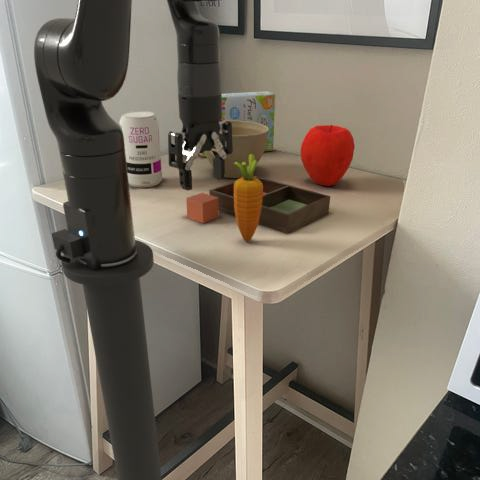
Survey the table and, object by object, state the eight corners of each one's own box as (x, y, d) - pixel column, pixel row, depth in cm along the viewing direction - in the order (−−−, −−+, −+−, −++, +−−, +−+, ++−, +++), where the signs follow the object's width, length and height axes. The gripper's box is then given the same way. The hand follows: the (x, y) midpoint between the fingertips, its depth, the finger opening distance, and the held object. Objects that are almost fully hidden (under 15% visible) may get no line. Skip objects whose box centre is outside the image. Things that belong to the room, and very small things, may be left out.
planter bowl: (245, 187, 113) (246, 138, 107) (188, 175, 120) (186, 128, 114) (278, 170, 125) (280, 125, 119) (224, 160, 132) (224, 117, 126)
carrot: (245, 250, 85) (247, 162, 77) (227, 241, 88) (227, 155, 80) (266, 243, 88) (270, 157, 80) (248, 234, 91) (250, 150, 83)
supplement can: (150, 175, 120) (144, 109, 112) (169, 183, 115) (164, 115, 107) (120, 181, 116) (111, 113, 107) (138, 190, 110) (131, 119, 102)
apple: (293, 189, 113) (298, 127, 105) (303, 174, 122) (308, 117, 115) (345, 195, 110) (354, 132, 103) (351, 179, 119) (360, 121, 112)
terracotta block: (203, 223, 95) (202, 203, 93) (187, 217, 98) (186, 197, 95) (218, 217, 98) (218, 197, 96) (202, 211, 100) (202, 192, 98)
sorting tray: (287, 233, 92) (288, 215, 90) (209, 207, 103) (209, 190, 101) (328, 213, 101) (330, 196, 99) (253, 191, 111) (253, 175, 109)
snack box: (265, 146, 145) (267, 90, 136) (273, 151, 140) (276, 93, 132) (195, 152, 138) (193, 93, 130) (201, 158, 134) (200, 97, 125)
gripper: (212, 83, 92) (214, 171, 101) (153, 93, 83) (161, 188, 92) (243, 88, 88) (242, 179, 97) (184, 99, 79) (189, 198, 88)
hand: (203, 183), depth 94 cm, fingers open, 8 cm apart
